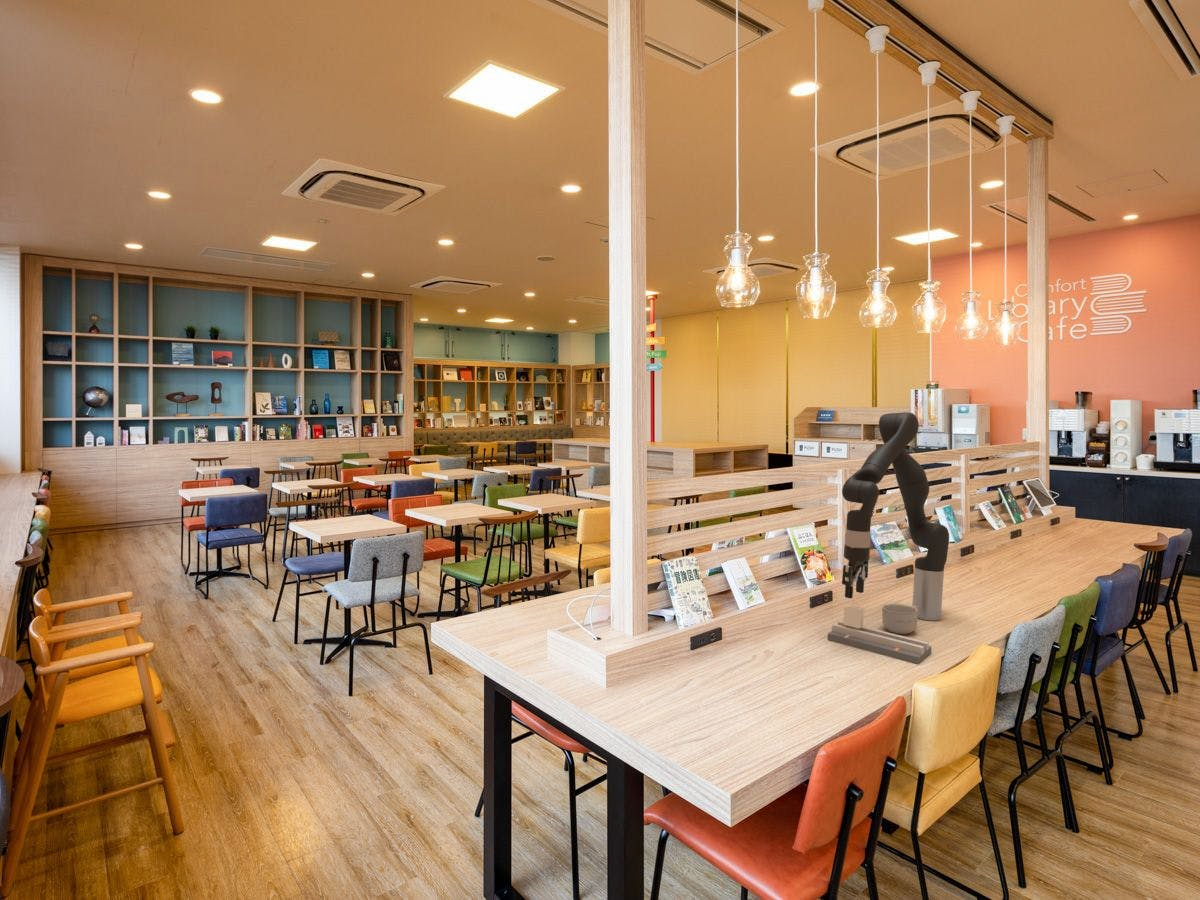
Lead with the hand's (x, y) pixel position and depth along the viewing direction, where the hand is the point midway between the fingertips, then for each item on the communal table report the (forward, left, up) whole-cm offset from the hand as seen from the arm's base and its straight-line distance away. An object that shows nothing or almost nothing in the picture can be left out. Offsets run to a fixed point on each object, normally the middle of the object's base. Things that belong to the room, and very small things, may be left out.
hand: (854, 595), depth 211 cm
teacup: (-20, +9, -15) cm, 26 cm away
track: (0, +8, -14) cm, 16 cm away
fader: (0, 0, -12) cm, 12 cm away
